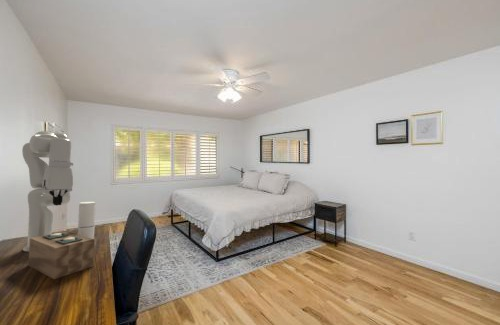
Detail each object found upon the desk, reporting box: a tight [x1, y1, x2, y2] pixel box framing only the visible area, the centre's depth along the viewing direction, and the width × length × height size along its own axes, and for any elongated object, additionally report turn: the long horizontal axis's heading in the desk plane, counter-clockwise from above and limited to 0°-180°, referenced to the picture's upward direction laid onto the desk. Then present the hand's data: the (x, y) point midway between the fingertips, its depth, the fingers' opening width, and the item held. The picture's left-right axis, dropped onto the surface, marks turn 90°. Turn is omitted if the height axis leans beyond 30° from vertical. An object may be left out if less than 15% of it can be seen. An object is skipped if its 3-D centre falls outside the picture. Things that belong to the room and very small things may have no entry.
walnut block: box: [27, 230, 95, 280], centre depth 100 cm, size 14×24×12 cm, turn 62°
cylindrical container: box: [77, 201, 97, 240], centre depth 121 cm, size 7×7×25 cm
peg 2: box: [63, 237, 75, 242], centre depth 97 cm, size 4×4×12 cm
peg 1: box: [50, 232, 62, 238], centre depth 103 cm, size 4×4×12 cm
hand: (57, 204), depth 104 cm, fingers closed
